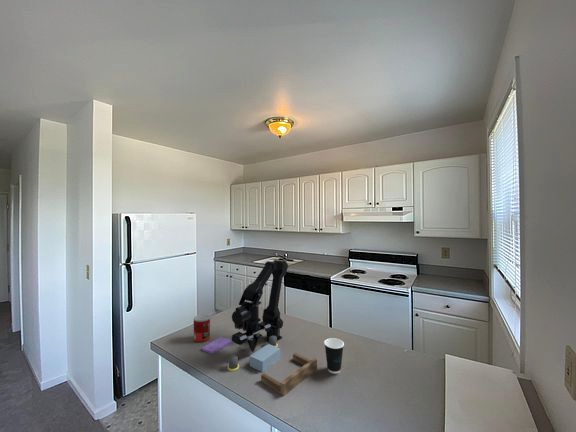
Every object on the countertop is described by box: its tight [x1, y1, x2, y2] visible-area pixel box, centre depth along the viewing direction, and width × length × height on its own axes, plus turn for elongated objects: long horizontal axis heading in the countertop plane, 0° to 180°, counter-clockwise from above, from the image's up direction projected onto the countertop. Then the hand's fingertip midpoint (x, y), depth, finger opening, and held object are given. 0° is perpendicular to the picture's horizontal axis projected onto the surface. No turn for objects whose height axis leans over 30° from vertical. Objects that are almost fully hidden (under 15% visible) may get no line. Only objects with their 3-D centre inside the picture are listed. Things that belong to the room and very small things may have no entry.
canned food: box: [193, 314, 211, 343], centre depth 128 cm, size 8×8×11 cm
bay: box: [260, 352, 318, 397], centre depth 99 cm, size 20×12×4 cm, turn 139°
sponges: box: [201, 336, 233, 355], centre depth 121 cm, size 7×13×2 cm, turn 150°
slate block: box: [249, 343, 282, 373], centre depth 108 cm, size 12×7×4 cm, turn 145°
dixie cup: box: [323, 337, 345, 375], centre depth 102 cm, size 8×8×11 cm
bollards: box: [227, 336, 279, 372], centre depth 112 cm, size 28×5×4 cm, turn 139°
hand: (252, 351), depth 113 cm, fingers closed
